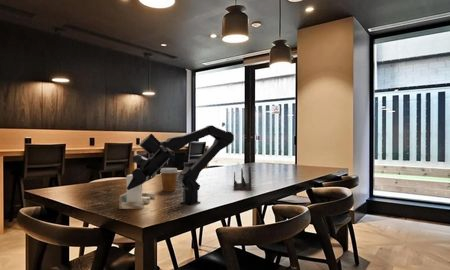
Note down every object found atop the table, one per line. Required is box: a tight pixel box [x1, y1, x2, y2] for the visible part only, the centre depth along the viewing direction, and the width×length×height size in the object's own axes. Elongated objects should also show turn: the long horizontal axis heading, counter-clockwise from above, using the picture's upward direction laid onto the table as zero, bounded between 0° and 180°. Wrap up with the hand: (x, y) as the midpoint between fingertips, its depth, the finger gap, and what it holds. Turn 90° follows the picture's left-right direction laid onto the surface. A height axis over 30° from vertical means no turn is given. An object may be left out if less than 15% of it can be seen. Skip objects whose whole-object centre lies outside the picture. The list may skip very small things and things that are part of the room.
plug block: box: [126, 173, 143, 202], centre depth 123 cm, size 5×5×13 cm
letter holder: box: [233, 163, 253, 192], centre depth 172 cm, size 10×20×14 cm, turn 178°
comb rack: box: [118, 191, 156, 210], centre depth 129 cm, size 10×21×5 cm, turn 0°
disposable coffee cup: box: [159, 167, 179, 192], centre depth 161 cm, size 10×10×12 cm
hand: (131, 187), depth 123 cm, fingers open, 9 cm apart
